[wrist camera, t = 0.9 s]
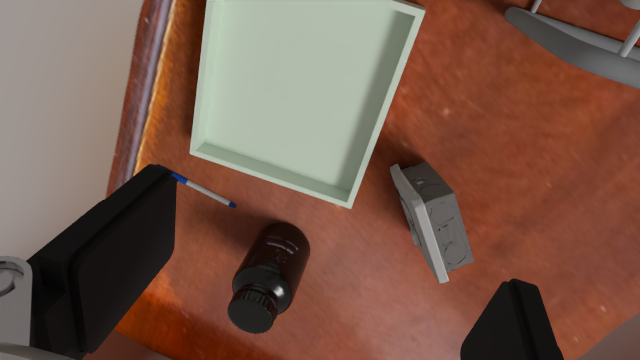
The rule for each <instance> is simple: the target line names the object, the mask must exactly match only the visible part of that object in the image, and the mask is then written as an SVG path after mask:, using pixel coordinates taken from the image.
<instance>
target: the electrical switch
mask: <svg viewBox="0 0 640 360" xmlns="http://www.w3.org/2000/svg"><path fill="white" fill-rule="evenodd" d="M390 171H391V175H392V178H393V181H394V184H395V186H396V189H397V192H398V195H399V198H400V201H401V203H402V206H403V209H404V212H405V215H406V217H407V220H408V223H409V226H410V231H411V235H412V238H413V241H414V244H415V245H418V247H419V249H420V250H421V252H422V254H423V256H424V258H425V260H426V262H427V264H428V265H429V267H430V269H431V270H432V272H433V274H434V275H435V277H436V279H437V280H438V282H439V283H440V284H441V283H444V282H447V281H449V279H448V276H447V273H448V272H450V271H452V270H455V269H458V268H459V267H460V266H462V265H465V264H468V263H471V262H474V259H473V256H472V252H471V249H470V245H469V242H468V238H467V235H466V231H465V228H464V224H463V221H462V217H461V214H460V210H459V207H458V203H457V200H456V197H455V193H454V191H453V190H452V189H451V188H450V187H449V186H448V185H447V184H446V182H445V181H444V180H443V179H442V178H441V177H440V176H439V175H438V174H437V172H436V171H435V170H434V169H433V168H432V167H431V166H430V165H429V163H428V162H424V163H422V164H419V165H416V166H411V167H408V168H406V169H402V170H400V167H399V165H398V164H395V165H393V166H391V167H390ZM444 188H445V189H444ZM452 192H453V193H452ZM449 193H451V194H449ZM447 194H448V195H447ZM445 195H446V196H445Z"/></svg>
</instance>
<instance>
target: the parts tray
mask: <svg viewBox="0 0 640 360" xmlns="http://www.w3.org/2000/svg"><path fill="white" fill-rule="evenodd" d="M425 11H426V10H425V7H424V6H421V5H417V4H414V3H411V2H408V1H405V0H207V3H206V12H205V21H204V29H203V38H202V47H201V56H200V65H199V74H198V83H197V92H196V101H195V110H194V119H193V128H192V137H191V146H190V154H191V155H194V156H197V157H200V158H203V159H206V160H209V161H212V162H215V163H218V164H221V165H224V166H226V167H229V168H232V169H235V170H238V171H241V172H244V173H247V174H250V175H253V176H256V177H259V178H262V179H264V180H267V181H270V182H273V183H276V184H279V185H282V186H285V187H288V188H291V189H294V190H297V191H299V192H302V193H305V194H308V195H311V196H314V197H317V198H320V199H323V200H326V201H329V202H332V203H334V204H337V205H340V206H343V207H346V208H349V209H351V208H352V205H353V202H354V200H355V197H356V194H357V192H358V189H359V186H360V184H361V181H362V178H363V176H364V173H365V170H366V168H367V165H368V162H369V160H370V157H371V155H372V152H373V149H374V147H375V144H376V141H377V139H378V136H379V133H380V131H381V128H382V125H383V123H384V120H385V117H386V115H387V112H388V109H389V107H390V104H391V101H392V99H393V96H394V94H395V91H396V88H397V86H398V83H399V80H400V78H401V75H402V72H403V70H404V67H405V64H406V62H407V59H408V56H409V54H410V51H411V48H412V46H413V43H414V40H415V38H416V35H417V32H418V30H419V27H420V25H421V22H422V19H423V17H424V14H425Z"/></svg>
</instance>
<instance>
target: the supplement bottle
mask: <svg viewBox="0 0 640 360" xmlns="http://www.w3.org/2000/svg"><path fill="white" fill-rule="evenodd" d="M309 255H310V245H309V242H308V240H307V238H306V237H305V235H304V234H303V233H302V232H301V231H300V230H298V229H297V228H295V227H293V226H291V225H288V224H283V223H275V224H271V225H268V226H266V227H265V228H264V229H262V230H261V232H260V233H259V235H258V236H257V238H256V239H255V241H254V243H253V244H252V246H251V248H250V249H249V251H248V253H247V255H246V256H245V258H244V260H243V261H242V263H241V265H240V266H239V268H238V270H237V271H236V273H235V275H234V277H233V281H232V289H233V294H234V295H233V297H232V300H231V302H230V303H229V306H228V316H229V317H230V320H231V321H232V323H234V325H235V326H237V327H238V328H240V329H241V330H243V331H246V332H249V333H254V334H260V333H264V332H267V330H269V329H270V328H271V327H272V325H273V323H274V320H275V319H276V317H277V315H279V314H281V313H283V312H284V311H286V310H287V309H288V308H289V306H290V305H291V303H292V301H293V299H294V296H295V293H296V291H297V288H298V285H299V283H300V280H301V277H302V275H303V272H304V270H305V267H306V264H307V261H308V259H309Z"/></svg>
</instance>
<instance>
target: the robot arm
mask: <svg viewBox="0 0 640 360" xmlns="http://www.w3.org/2000/svg"><path fill="white" fill-rule="evenodd" d="M176 188H177V179H176V177H174V176H172V172H171V170H169V169H166V168H163V167H160V166H156V165H153V164H149V165H147V166H146V167H145V168H143V169H142V170H141V171H140V172H139V173H137V174H136V175H135V176H134V177H132V178H131V179H130V180H129V181H127V182H126V183H125V184H124V185H122V186H121V187H120V188H119V189H118V190H116V191H115V192H114V193H113V194H111V195H110V196H109V197H108V198H106V199H105V200H102V201H101V202H99V203H98V204H97V205H95V206H94V207H93V208H92V209H90V210H89V211H88V212H86V213H85V214H84V215H83V216H81V217H80V218H79V219H78V220H77V221H76V222H74V223H73V224H72V225H70V226H69V227H68V228H67V229H66V230H64V231H63V232H62V233H60V234H59V235H58V236H57V237H55V238H54V239H53V240H52V241H50V242H49V243H48V244H47V245H45V246H44V247H43V248H42V249H40V250H39V251H38V252H37V253H35V254H34V255H33V256H32V257H31V258H29V259H28V260H27V261H24V260H22V259H20V258H18V257H11V256H0V360H82V358H83V357H84V356H85V355H86V354H87V353H90V354H91V353H93V352H95V351H96V350H97V349H98V348H99V346H100V345H101V344H102V343H103V341H104V340H105V339H106V338H107V336H108V335H109V334H110V333H111V331H112V330H113V329H114V328H115V326H116V325H117V324H118V323H119V321H120V320H121V319H122V318H123V316H124V315H125V314H126V313H127V311H128V310H129V309H130V308H131V306H132V305H133V304H134V303H135V301H136V300H137V299H138V298H139V296H140V295H141V294H142V293H143V291H144V290H145V289H146V288H147V286H148V285H149V284H150V283H151V281H152V280H153V279H154V278H155V276H156V275H157V274H158V273H159V271H160V270H161V269H162V268H163V266H164V265H165V264H166V263H167V261H168V260H169V259H170V257H171V255H172V253H173V250H174V241H175V215H176ZM460 357H461V360H564V358H563V355H562V353H561V351H560V349H559V347H558V346H557V343H556V340H555V337H554V334H553V331H552V328H551V325H550V322H549V319H548V316H547V313H546V310H545V307H544V304H543V301H542V298H541V295H540V292H539V289H538V287H537V286H536V285H534V284H531V283H527V282H524V281H521V280H518V279H511V280H510V281H509V282H506V281H504V282H502V284H501V285H500V286H499V288H498V290H497V291H496V293H495V294H494V296H493V297H492V299H491V300H490V302H489V303H488V305H487V306H486V308H485V309H484V311H483V312H482V314H481V316H480V317H479V319H478V320H477V322H476V323H475V325H474V326H473V328H472V329H471V331H470V332H469V334H468V335H467V337H466V338H465V340H464V342H463V344H462V347H461V352H460Z"/></svg>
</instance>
